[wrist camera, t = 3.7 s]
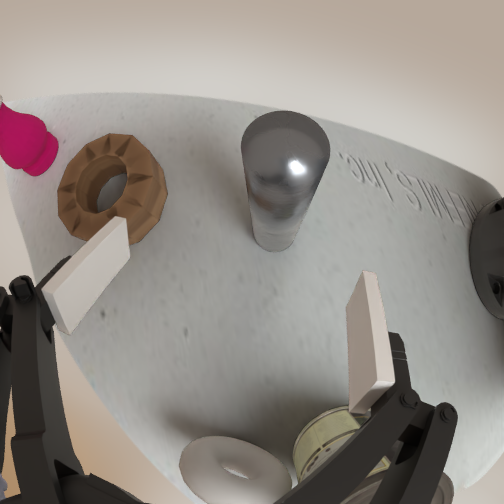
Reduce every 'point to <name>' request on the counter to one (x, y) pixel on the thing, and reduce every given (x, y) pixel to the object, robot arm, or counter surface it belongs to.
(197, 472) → the donut
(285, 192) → the metal cylinder peg
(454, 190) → the counter surface
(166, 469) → the counter surface
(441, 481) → the coffee can
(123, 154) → the bead
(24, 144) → the pepper mill
